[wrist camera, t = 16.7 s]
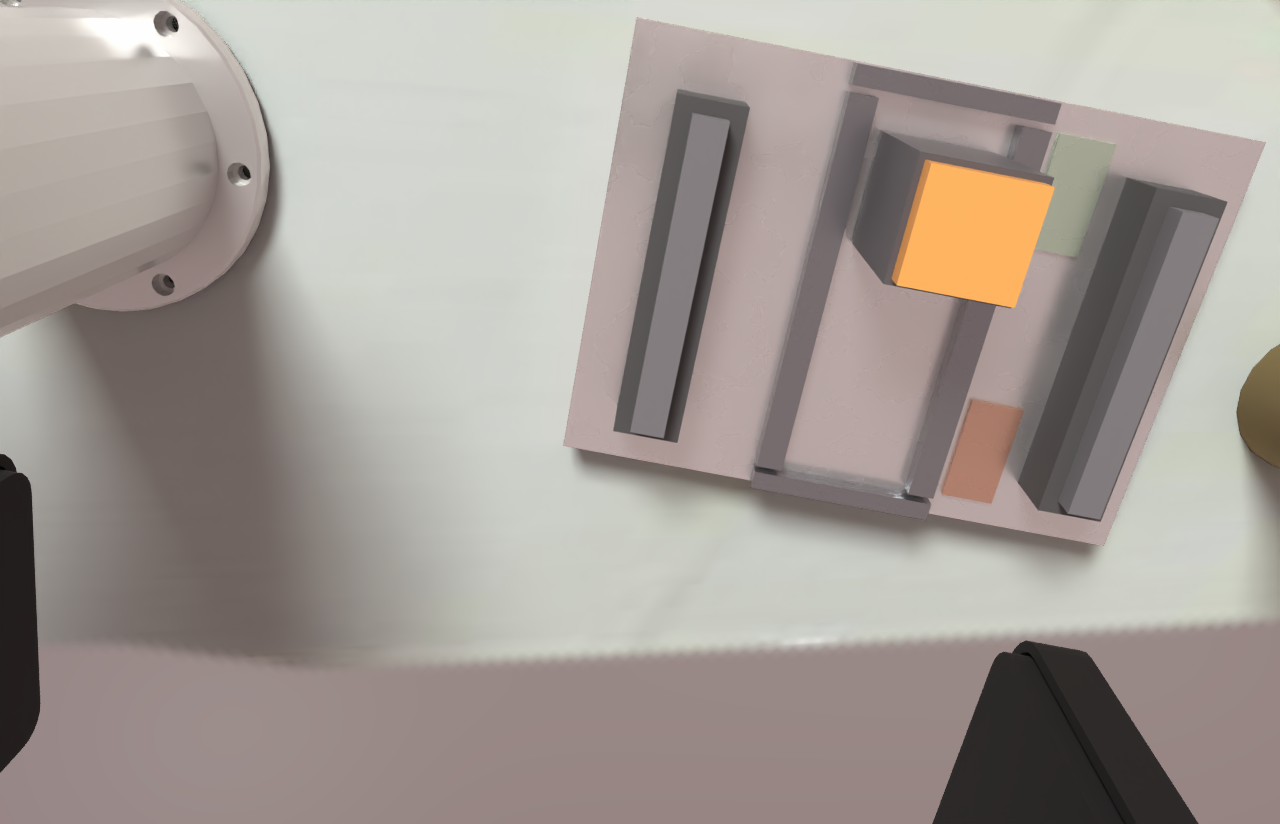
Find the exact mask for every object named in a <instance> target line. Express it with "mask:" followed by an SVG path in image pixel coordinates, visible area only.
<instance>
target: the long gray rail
mask: <svg viewBox="0 0 1280 824" xmlns="http://www.w3.org/2000/svg"><path fill="white" fill-rule="evenodd" d="M749 110H750V107H749V106H748V104H747V103H746V102H742V101H737V100H732V99H727V98H722V97H717V96H712V95H707V94H701V93H696V92H691V91H686V90H681V89H677V94H676V99H675V105H674V110H673V115H672V120H671V126H670V131H669V136H668V141H667V147H666V152H665V157H664V163H663V168H662V173H661V178H660V184H659V189H658V194H657V199H656V205H655V210H654V215H653V220H652V226H651V231H650V236H649V242H648V247H647V252H646V257H645V263H644V268H643V273H642V278H641V284H640V289H639V294H638V300H637V305H636V310H635V315H634V321H633V326H632V331H631V336H630V342H629V347H628V352H627V358H626V363H625V368H624V373H623V379H622V384H621V389H620V394H619V400H618V405H617V411H616V416H615V422H614V428H613V431H615V432H620V433H626V434H631V435H637V436H642V437H647V438H653V439H658V440H663V441H669V442H674V443H678V438H679V434H680V429H681V424H682V420H683V415H684V411H685V406H686V401H687V397H688V392H689V388H690V383H691V378H692V374H693V369H694V364H695V360H696V355H697V351H698V346H699V341H700V337H701V332H702V327H703V323H704V318H705V314H706V309H707V304H708V300H709V295H710V291H711V286H712V281H713V277H714V272H715V267H716V263H717V258H718V254H719V249H720V244H721V240H722V235H723V230H724V226H725V221H726V217H727V212H728V207H729V203H730V198H731V193H732V189H733V184H734V180H735V175H736V170H737V166H738V161H739V157H740V152H741V147H742V143H743V138H744V133H745V129H746V124H747V120H748V115H749ZM1226 205H1227V201H1224V200H1221V199H1218V198H1215V197H1212V196H1209V195H1206V194H1203V193H1200V192H1197V191H1193V190H1189V189H1184V188H1178V187H1173V186H1168V185H1163V184H1158V183H1153V182H1148V181H1143V180H1138V179H1133V178H1128V177H1127V178H1126V181H1125V184H1124V187H1123V189H1122V192H1121V195H1120V198H1119V201H1118V203H1117V206H1116V209H1115V212H1114V215H1113V217H1112V220H1111V223H1110V226H1109V229H1108V231H1107V234H1106V237H1105V240H1104V243H1103V245H1102V248H1101V251H1100V254H1099V257H1098V259H1097V262H1096V265H1095V268H1094V271H1093V273H1092V276H1091V279H1090V282H1089V285H1088V287H1087V290H1086V293H1085V296H1084V299H1083V301H1082V304H1081V307H1080V310H1079V313H1078V315H1077V318H1076V321H1075V324H1074V326H1073V329H1072V332H1071V335H1070V338H1069V340H1068V343H1067V346H1066V349H1065V352H1064V354H1063V357H1062V360H1061V363H1060V366H1059V368H1058V371H1057V374H1056V377H1055V380H1054V382H1053V385H1052V388H1051V391H1050V394H1049V396H1048V399H1047V402H1046V405H1045V408H1044V410H1043V413H1042V416H1041V419H1040V422H1039V424H1038V427H1037V430H1036V433H1035V436H1034V438H1033V441H1032V444H1031V447H1030V450H1029V452H1028V455H1027V458H1026V461H1025V464H1024V466H1023V469H1022V472H1021V475H1020V478H1019V480H1018V484H1019V485H1020V486H1021V488H1022V489H1023V491H1024V492H1025V493H1026V495H1027V496H1028V497H1029V499H1030V500H1031V502H1032V503H1033V504H1034V506H1035V507H1036V508H1037V510H1039V511H1045V512H1050V513H1055V514H1061V515H1066V516H1072V517H1077V518H1082V519H1088V520H1093V521H1098V522H1101V520H1102V517H1103V515H1104V512H1105V510H1106V507H1107V505H1108V502H1109V500H1110V497H1111V495H1112V492H1113V490H1114V487H1115V485H1116V482H1117V480H1118V477H1119V474H1120V472H1121V469H1122V467H1123V464H1124V462H1125V459H1126V457H1127V454H1128V452H1129V449H1130V447H1131V444H1132V442H1133V439H1134V437H1135V434H1136V432H1137V429H1138V427H1139V424H1140V422H1141V419H1142V417H1143V414H1144V412H1145V409H1146V406H1147V404H1148V401H1149V399H1150V396H1151V394H1152V391H1153V389H1154V386H1155V384H1156V381H1157V379H1158V376H1159V374H1160V371H1161V369H1162V366H1163V364H1164V361H1165V359H1166V356H1167V354H1168V351H1169V349H1170V346H1171V344H1172V341H1173V338H1174V336H1175V333H1176V331H1177V328H1178V326H1179V323H1180V321H1181V318H1182V316H1183V313H1184V311H1185V308H1186V306H1187V303H1188V301H1189V298H1190V296H1191V293H1192V291H1193V288H1194V286H1195V283H1196V281H1197V278H1198V276H1199V273H1200V270H1201V268H1202V265H1203V263H1204V260H1205V258H1206V255H1207V253H1208V250H1209V248H1210V245H1211V243H1212V240H1213V238H1214V235H1215V233H1216V230H1217V228H1218V225H1219V223H1220V220H1221V218H1222V215H1223V213H1224V210H1225V208H1226Z"/></svg>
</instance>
